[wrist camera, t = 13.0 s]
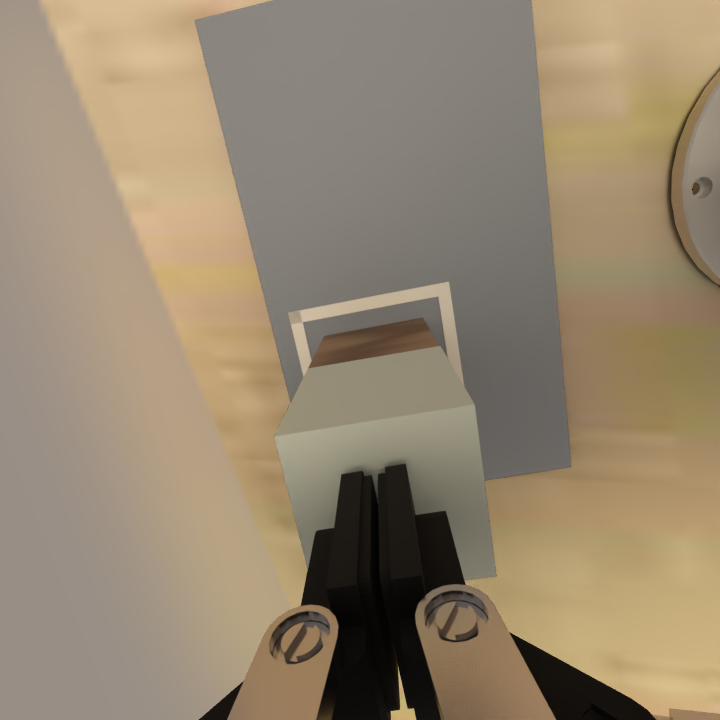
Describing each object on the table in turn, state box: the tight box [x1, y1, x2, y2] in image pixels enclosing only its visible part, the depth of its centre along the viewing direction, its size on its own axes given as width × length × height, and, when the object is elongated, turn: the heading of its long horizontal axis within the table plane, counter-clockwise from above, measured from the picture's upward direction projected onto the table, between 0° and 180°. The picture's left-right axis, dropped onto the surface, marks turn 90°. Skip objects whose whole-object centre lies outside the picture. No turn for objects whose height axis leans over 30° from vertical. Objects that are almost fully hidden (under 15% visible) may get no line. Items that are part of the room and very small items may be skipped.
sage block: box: [274, 346, 497, 580], centre depth 15 cm, size 5×5×6 cm
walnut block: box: [309, 318, 439, 368], centre depth 21 cm, size 5×5×6 cm
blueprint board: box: [195, 0, 571, 481], centre depth 22 cm, size 14×24×1 cm, turn 11°
